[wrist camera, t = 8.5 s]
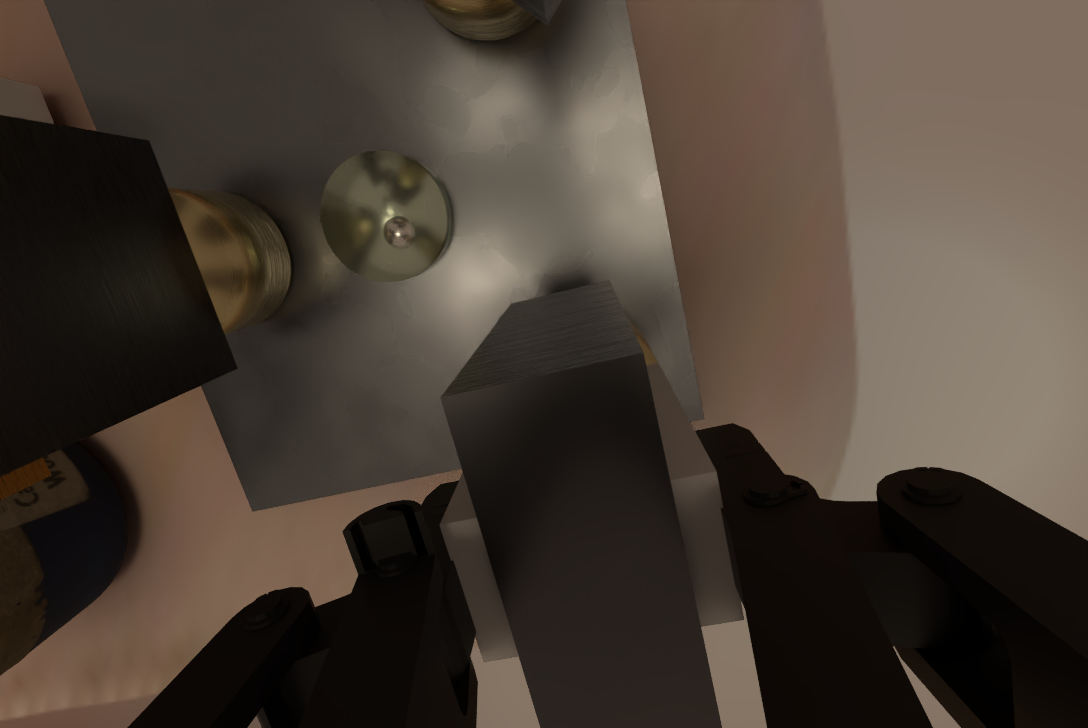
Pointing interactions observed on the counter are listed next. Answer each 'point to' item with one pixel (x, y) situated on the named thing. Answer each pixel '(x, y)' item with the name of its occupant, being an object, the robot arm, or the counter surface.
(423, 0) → the dark grey block
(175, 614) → the counter surface
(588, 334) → the brass knob with block
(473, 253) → the level plate
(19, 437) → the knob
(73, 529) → the canister
